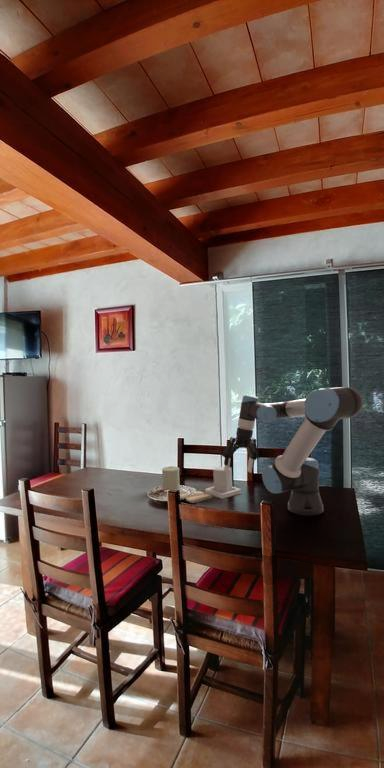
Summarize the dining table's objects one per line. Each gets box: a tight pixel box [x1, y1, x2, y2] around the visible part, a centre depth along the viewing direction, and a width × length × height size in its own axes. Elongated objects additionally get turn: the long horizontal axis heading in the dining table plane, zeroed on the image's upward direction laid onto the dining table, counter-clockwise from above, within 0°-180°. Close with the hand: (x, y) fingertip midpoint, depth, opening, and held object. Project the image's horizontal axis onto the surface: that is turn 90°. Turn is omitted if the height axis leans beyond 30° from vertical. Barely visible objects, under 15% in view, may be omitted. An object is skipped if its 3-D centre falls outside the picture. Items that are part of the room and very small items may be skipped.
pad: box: [179, 489, 213, 504], centre depth 196 cm, size 12×12×1 cm
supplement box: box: [212, 466, 233, 493], centre depth 201 cm, size 7×7×13 cm
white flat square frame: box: [204, 485, 242, 500], centre depth 202 cm, size 13×13×2 cm
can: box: [161, 466, 181, 493], centre depth 209 cm, size 9×9×12 cm
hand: (237, 471), depth 188 cm, fingers open, 13 cm apart
